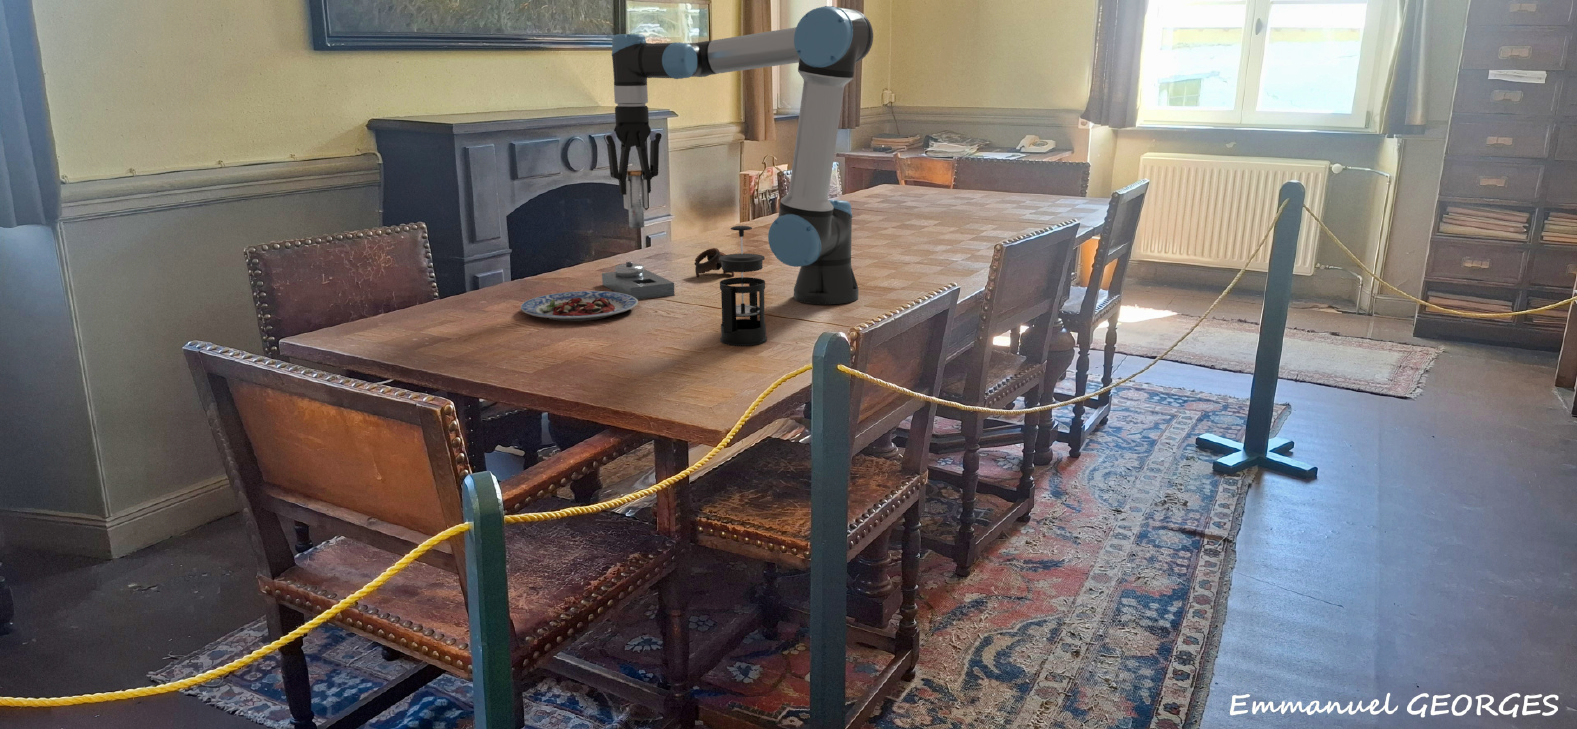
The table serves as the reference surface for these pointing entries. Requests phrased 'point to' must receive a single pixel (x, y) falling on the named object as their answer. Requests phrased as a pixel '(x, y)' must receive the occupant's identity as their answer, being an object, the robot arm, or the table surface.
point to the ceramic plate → (579, 305)
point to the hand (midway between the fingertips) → (636, 207)
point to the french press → (742, 329)
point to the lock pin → (636, 199)
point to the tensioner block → (637, 282)
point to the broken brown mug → (709, 261)
